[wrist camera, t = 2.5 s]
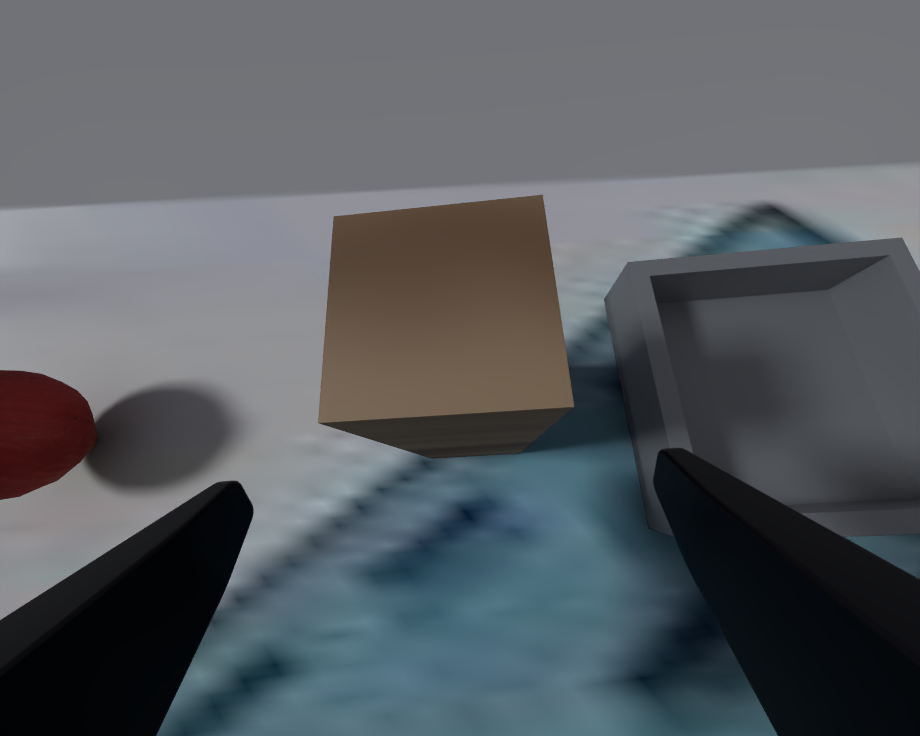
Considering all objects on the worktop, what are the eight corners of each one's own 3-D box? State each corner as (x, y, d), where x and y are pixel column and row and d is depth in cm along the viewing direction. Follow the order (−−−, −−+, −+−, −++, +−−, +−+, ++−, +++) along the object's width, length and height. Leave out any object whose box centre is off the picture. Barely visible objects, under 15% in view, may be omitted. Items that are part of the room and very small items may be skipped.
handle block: (519, 453, 17) (574, 406, 6) (431, 458, 17) (318, 422, 6) (511, 368, 19) (542, 194, 7) (429, 374, 19) (333, 216, 7)
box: (927, 517, 15) (1052, 529, 12) (648, 528, 16) (691, 542, 12) (827, 280, 18) (902, 237, 15) (604, 299, 19) (627, 262, 16)
